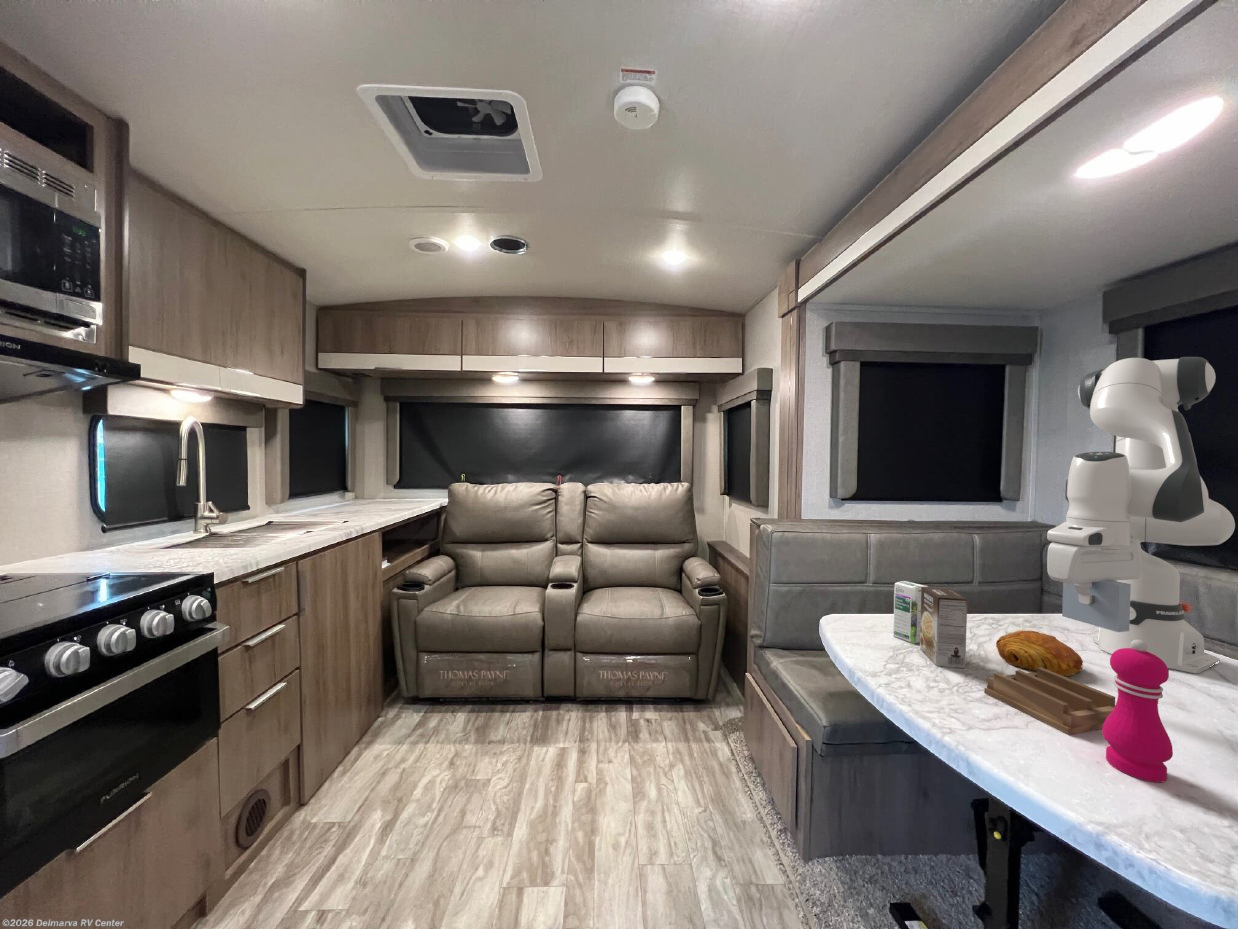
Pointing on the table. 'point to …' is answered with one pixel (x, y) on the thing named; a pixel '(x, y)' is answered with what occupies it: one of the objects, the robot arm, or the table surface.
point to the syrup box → (907, 611)
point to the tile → (1100, 605)
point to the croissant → (1038, 652)
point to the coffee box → (943, 626)
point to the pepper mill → (1138, 715)
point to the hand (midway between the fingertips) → (1094, 602)
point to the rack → (1053, 699)
